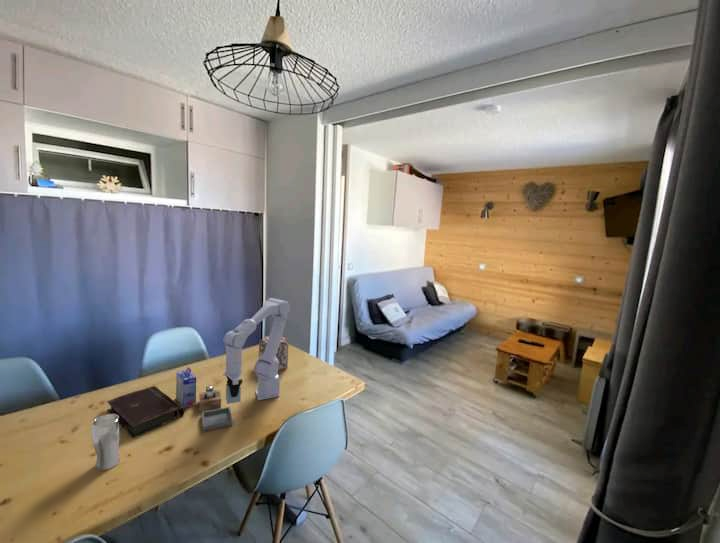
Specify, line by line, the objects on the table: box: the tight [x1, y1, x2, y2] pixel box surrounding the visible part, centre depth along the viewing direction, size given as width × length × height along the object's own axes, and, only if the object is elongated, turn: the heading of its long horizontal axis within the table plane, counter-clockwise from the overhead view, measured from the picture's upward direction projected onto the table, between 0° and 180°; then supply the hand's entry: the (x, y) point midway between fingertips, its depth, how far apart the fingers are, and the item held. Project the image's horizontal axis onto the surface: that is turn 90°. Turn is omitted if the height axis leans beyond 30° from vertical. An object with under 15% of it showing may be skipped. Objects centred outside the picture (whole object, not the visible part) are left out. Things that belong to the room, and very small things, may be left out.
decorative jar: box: [258, 334, 289, 371], centre depth 173 cm, size 12×12×18 cm
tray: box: [201, 406, 233, 433], centre depth 125 cm, size 10×10×2 cm
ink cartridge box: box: [175, 366, 197, 409], centre depth 136 cm, size 10×6×14 cm, turn 45°
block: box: [225, 383, 242, 405], centre depth 130 cm, size 5×5×6 cm
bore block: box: [198, 389, 222, 413], centre depth 136 cm, size 8×8×4 cm
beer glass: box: [91, 413, 121, 472], centre depth 100 cm, size 7×7×15 cm
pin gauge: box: [205, 384, 215, 399], centre depth 135 cm, size 3×3×8 cm
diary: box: [106, 385, 185, 439], centre depth 127 cm, size 19×25×5 cm
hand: (233, 393), depth 130 cm, fingers closed on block, 5 cm apart
